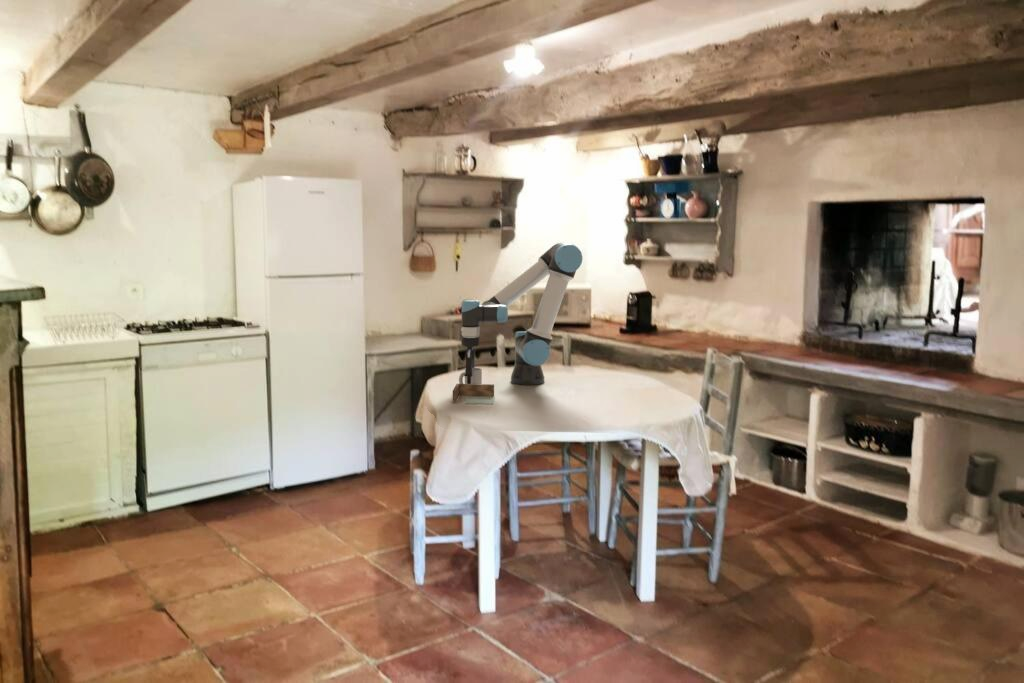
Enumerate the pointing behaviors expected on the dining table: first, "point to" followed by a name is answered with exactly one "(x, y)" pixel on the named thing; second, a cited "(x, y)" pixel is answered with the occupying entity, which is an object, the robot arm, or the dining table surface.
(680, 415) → the dining table surface
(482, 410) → the dining table surface
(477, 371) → the cup
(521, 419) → the dining table surface
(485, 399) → the mat
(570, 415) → the dining table surface
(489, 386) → the corner walls
